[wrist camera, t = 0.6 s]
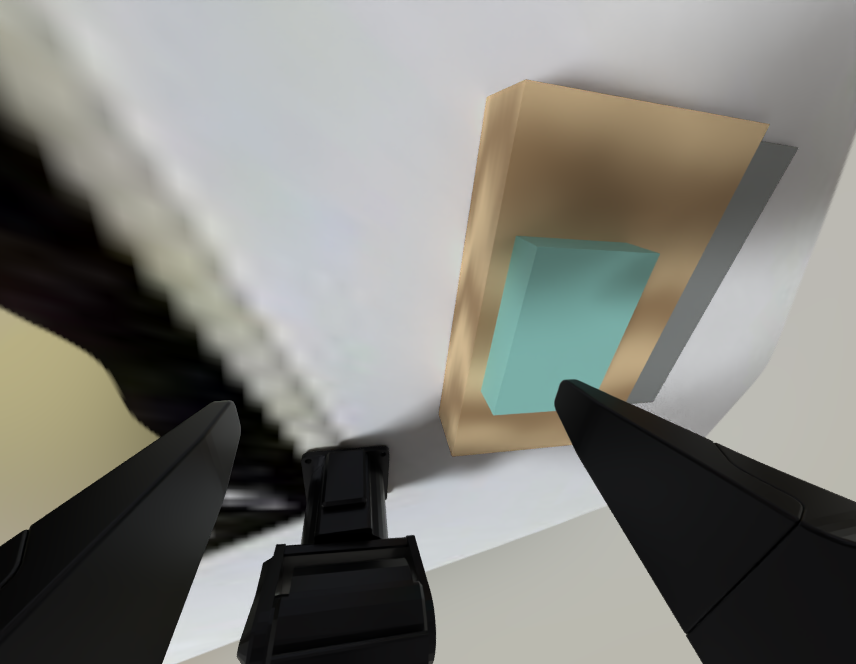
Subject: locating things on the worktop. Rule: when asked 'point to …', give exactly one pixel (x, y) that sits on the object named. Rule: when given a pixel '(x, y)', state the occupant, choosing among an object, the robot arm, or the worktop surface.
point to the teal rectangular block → (561, 318)
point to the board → (583, 226)
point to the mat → (714, 264)
